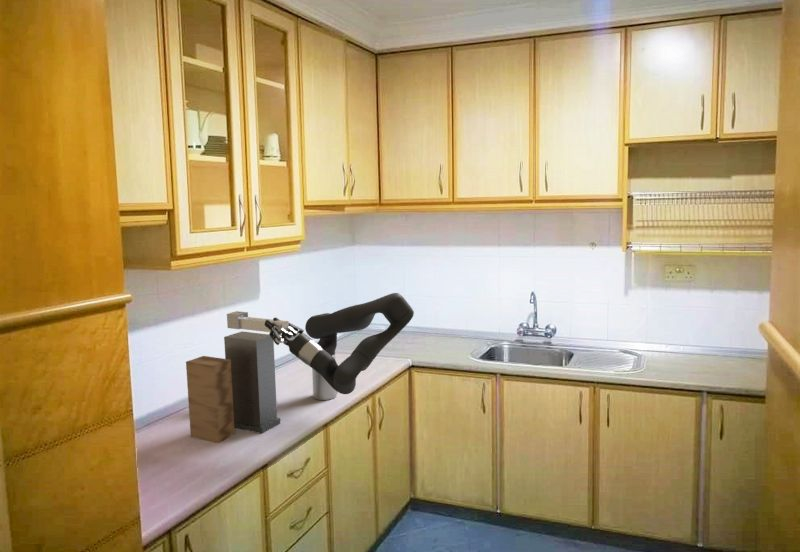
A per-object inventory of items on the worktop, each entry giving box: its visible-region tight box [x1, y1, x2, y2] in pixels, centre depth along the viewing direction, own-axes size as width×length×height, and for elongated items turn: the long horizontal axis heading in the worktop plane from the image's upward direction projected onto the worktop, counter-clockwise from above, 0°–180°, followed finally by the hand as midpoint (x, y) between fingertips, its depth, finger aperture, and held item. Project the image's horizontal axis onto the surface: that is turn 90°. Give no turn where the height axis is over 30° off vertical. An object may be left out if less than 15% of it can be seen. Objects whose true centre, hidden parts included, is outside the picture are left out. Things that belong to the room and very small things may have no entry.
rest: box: [185, 355, 236, 444], centre depth 210 cm, size 8×12×26 cm, turn 63°
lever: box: [226, 310, 290, 335], centre depth 214 cm, size 5×23×5 cm, turn 63°
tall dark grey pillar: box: [223, 330, 281, 434], centre depth 219 cm, size 10×16×32 cm, turn 63°
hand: (269, 320), depth 211 cm, fingers closed on lever, 3 cm apart
